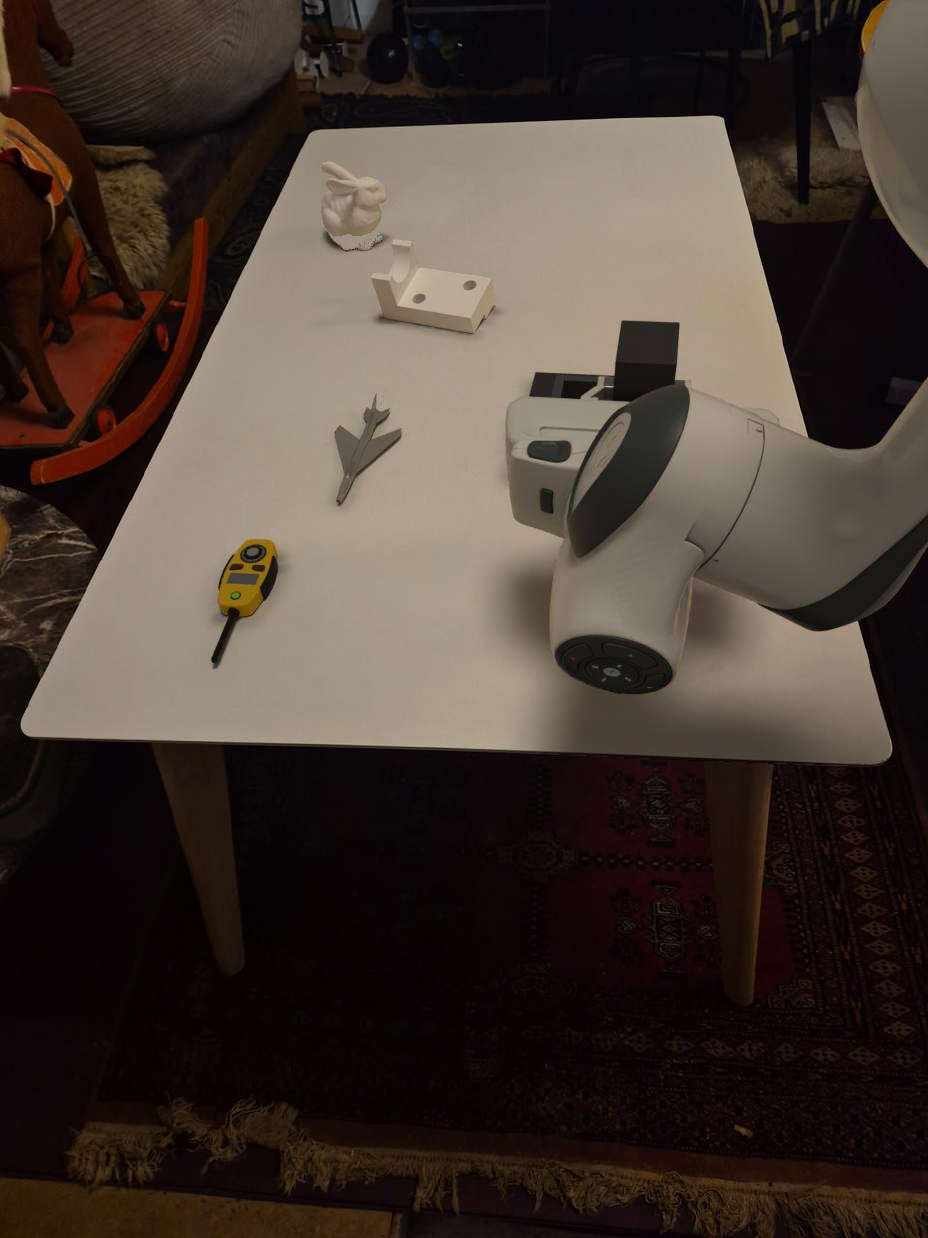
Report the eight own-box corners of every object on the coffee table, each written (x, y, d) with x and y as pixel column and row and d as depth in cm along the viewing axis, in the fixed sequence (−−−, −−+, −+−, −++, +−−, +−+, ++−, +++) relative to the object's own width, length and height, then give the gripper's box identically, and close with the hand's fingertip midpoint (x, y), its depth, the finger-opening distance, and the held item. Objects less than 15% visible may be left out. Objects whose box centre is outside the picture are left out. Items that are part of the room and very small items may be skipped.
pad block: (666, 427, 74) (679, 321, 67) (663, 471, 70) (677, 364, 63) (614, 424, 75) (621, 319, 68) (607, 467, 71) (615, 361, 64)
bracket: (386, 323, 114) (370, 277, 107) (408, 285, 116) (394, 238, 110) (475, 339, 110) (464, 292, 103) (496, 299, 112) (486, 251, 106)
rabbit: (399, 241, 128) (388, 155, 119) (351, 266, 124) (336, 179, 115) (348, 220, 134) (333, 137, 125) (300, 243, 130) (282, 159, 121)
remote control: (283, 536, 83) (235, 655, 73) (287, 550, 85) (241, 669, 75) (235, 534, 84) (182, 652, 74) (241, 549, 85) (189, 666, 76)
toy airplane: (303, 504, 89) (298, 487, 87) (356, 388, 102) (353, 372, 101) (374, 509, 88) (370, 492, 86) (419, 391, 101) (416, 374, 99)
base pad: (656, 386, 98) (659, 357, 95) (646, 487, 87) (649, 458, 84) (535, 380, 101) (535, 352, 98) (510, 478, 89) (508, 449, 87)
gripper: (795, 471, 56) (786, 355, 65) (488, 451, 60) (519, 345, 69) (776, 541, 61) (770, 425, 70) (493, 519, 65) (521, 411, 73)
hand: (643, 385), depth 69 cm, fingers closed on pad block, 4 cm apart
